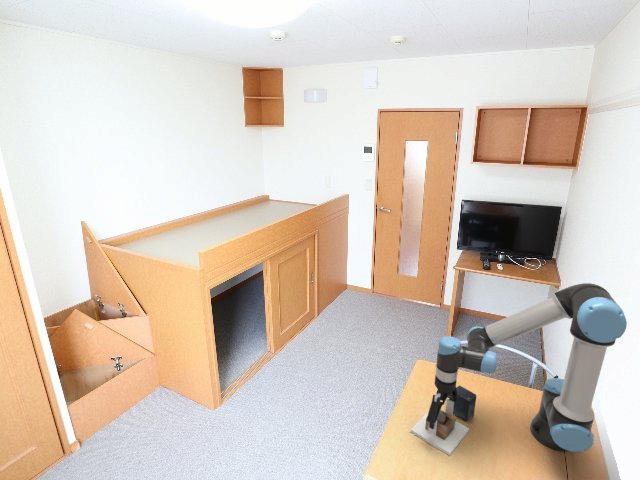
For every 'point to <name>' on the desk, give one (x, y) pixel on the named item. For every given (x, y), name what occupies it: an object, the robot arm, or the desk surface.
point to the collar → (444, 426)
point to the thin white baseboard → (443, 445)
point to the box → (464, 404)
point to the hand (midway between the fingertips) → (440, 423)
